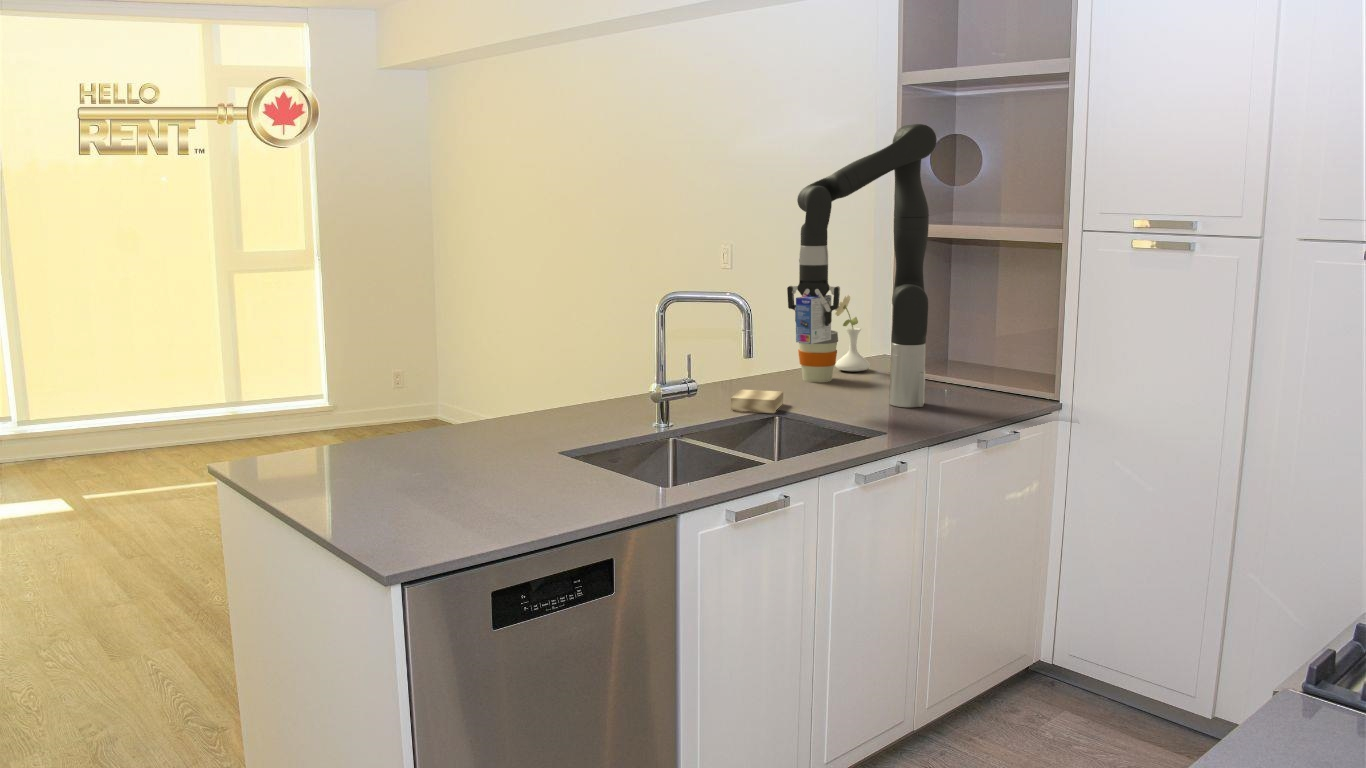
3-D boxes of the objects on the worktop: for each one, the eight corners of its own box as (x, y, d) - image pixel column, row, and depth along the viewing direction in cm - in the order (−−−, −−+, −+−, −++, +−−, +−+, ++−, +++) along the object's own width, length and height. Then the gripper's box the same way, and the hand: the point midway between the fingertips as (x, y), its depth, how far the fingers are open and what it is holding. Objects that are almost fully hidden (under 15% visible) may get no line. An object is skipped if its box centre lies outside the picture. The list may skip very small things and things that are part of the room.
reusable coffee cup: (819, 385, 319) (820, 336, 317) (788, 379, 329) (789, 332, 326) (845, 379, 328) (846, 332, 325) (814, 374, 337) (815, 328, 334)
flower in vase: (851, 366, 351) (853, 291, 347) (877, 371, 342) (879, 294, 338) (824, 370, 343) (825, 294, 339) (850, 375, 334) (851, 297, 330)
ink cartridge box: (814, 338, 286) (816, 284, 283) (831, 340, 283) (833, 286, 280) (793, 342, 279) (795, 287, 276) (811, 344, 275) (812, 289, 272)
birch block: (783, 405, 292) (783, 391, 292) (774, 414, 281) (774, 400, 280) (741, 403, 296) (741, 389, 295) (730, 412, 285) (730, 397, 284)
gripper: (843, 261, 278) (842, 324, 281) (789, 261, 282) (789, 322, 285) (839, 264, 271) (838, 327, 274) (784, 263, 275) (783, 326, 278)
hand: (813, 325), depth 280 cm, fingers closed on ink cartridge box, 7 cm apart
